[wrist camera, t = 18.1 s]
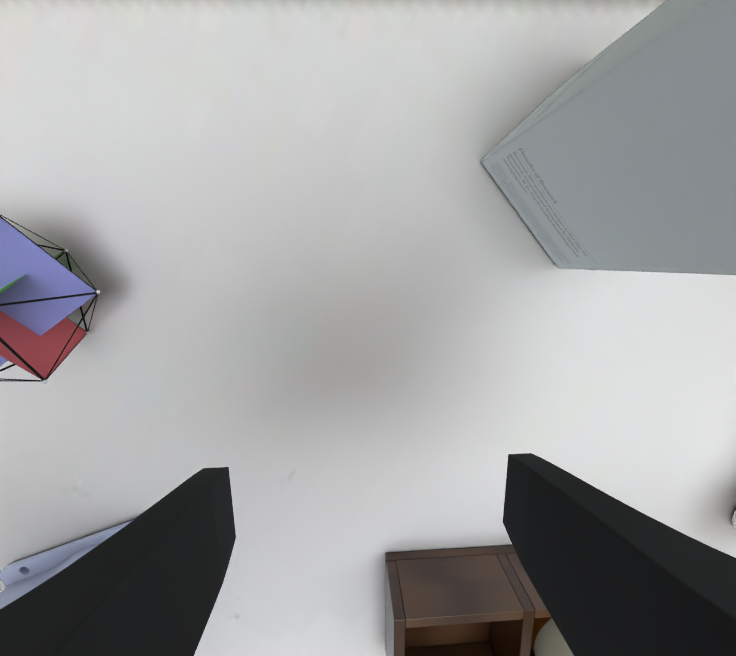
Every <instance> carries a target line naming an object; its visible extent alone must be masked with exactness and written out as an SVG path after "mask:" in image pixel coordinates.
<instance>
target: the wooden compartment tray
mask: <svg viewBox="0 0 736 656" xmlns="http://www.w3.org/2000/svg"><path fill="white" fill-rule="evenodd" d="M544 617H551V615H550V614H549V612H548V610H547V609H546V607H545V605H544V603H543V602H542V600H541V598H540V596H539V595H538V593H537V591H536V589H535V588H534V586H533V584H532V582H531V581H530V579H529V577H528V575H527V573H526V572H525V570H524V568H523V566H522V564H521V563H520V560H519V558H518V556H517V554H516V551H515V549H514V547H513V545H508V546H492V547H476V548H459V549H443V550H427V551H411V552H395V553H386V554H385V650H386V656H535V654H534V652H533V650H532V648H531V640H532V631H533V622H534V618H544Z"/></svg>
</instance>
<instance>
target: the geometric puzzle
mask: <svg viewBox="0 0 736 656" xmlns="http://www.w3.org/2000/svg"><path fill="white" fill-rule="evenodd" d="M1 216H2V215H1ZM1 216H0V366H1V365H3V364H4V363H5V362H7V361H8V360H9V361H10V362H12V363H14V364H12V365H10V366H8V367H5V368H3V369H1V370H0V371H3V370H5V369H7V368H10V367H12V366H14V365H17V366H19V367H21V368H23V369H24V370H26V371H28V372H30V373H31V374H33V375H35V376H37V377H38V378H40V379H41V380H24V381H42V383H47V379H48V378H49V376H50V375H51V374H52V373H53V372H54V371H55V370H56V368H57V367H58V366H59V365H60V364H61V363H62V362H63V360H64V359H65V358H66V357H67V356H68V355H69V354H70V352H71V351H72V350H73V349H74V348H75V347H76V346H77V344H78V343H79V342H80V341H81V340H82V339H83V338H84V336H85V335H86V334H89V332H88V330H89V327H88V330H87V326H86V323H85V319H84V317H85V315H86V313H87V312H88V310H89V308H90V307H91V305H92V303H93V302H94V300H95V298H96V297H98V294H99V293H100V291H99V290H96V288H95V287H94V286H93V285H92V286H93V287H94V288H95V289H94V288H92V287H91V286H90V285H89V284H87V283H86V282H85V281H83V280H82V279H81V278H80V277H78V276H77V275H76V274H74V273H73V272H72V269H71V266H70V262H69V258H68V254H69V253H68V250H67V249H64V250H63V248H62V249H58V248H53V247H48V246H43V245H38V244H36V243H34V242H33V241H32V240H31V239H29V238H28V237H27V236H25V235H24V234H23V233H22V232H20V231H19V230H18V229H16V228H15V227H14V226H13V225H11V224H10V223H9V222H7V221H6V220H5V219H4V218H5V217H4V216H2V217H4V218H2V217H1ZM6 219H7V218H6ZM8 220H9V219H8ZM10 221H11V220H10ZM12 222H13V221H12ZM14 223H15V222H14ZM15 224H17V223H15ZM17 225H18V224H17ZM19 226H20V225H19ZM21 227H22V226H21ZM23 228H24V227H23ZM25 229H26V228H25ZM27 230H28V229H27ZM28 231H29V230H28ZM30 232H31V231H30ZM32 233H33V232H32ZM34 234H35V233H34ZM36 235H37V234H36ZM38 236H39V235H38ZM40 237H41V236H40ZM41 238H42V237H41ZM43 239H44V238H43ZM45 240H46V239H45ZM47 241H48V240H47ZM49 242H50V241H49ZM51 243H52V242H51ZM53 244H54V243H53ZM54 245H55V244H54ZM40 246H42V247H47V248H52V249H58V250H63V252H61V253H60V254H59V255H57V256H56V257H52V256H51V255H50V254H49V253H47V252H46V251H45V250H43V249H42V248H41V247H40ZM56 246H57V245H56ZM58 247H59V246H58ZM60 248H61V247H60ZM64 253H66V257H67V261H68V264H69V268H70V270H69V269H68V268H67V267H65V266H64V265H63V264H62V263H60V262H59V261H58V260H57V259H58V258H59V257H60V256H62V255H63V254H64ZM67 253H68V254H67ZM69 256H70V255H69ZM70 257H71V256H70ZM71 258H72V257H71ZM72 260H73V259H72ZM73 261H74V260H73ZM74 262H75V261H74ZM75 263H76V262H75ZM76 265H77V264H76ZM77 266H78V265H77ZM78 267H79V266H78ZM79 269H80V268H79ZM80 270H81V269H80ZM81 271H82V270H81ZM82 273H83V272H82ZM83 274H84V273H83ZM84 275H85V274H84ZM85 276H86V275H85ZM86 278H87V277H86ZM87 279H88V278H87ZM88 280H89V279H88ZM89 282H90V281H89ZM90 283H91V282H90ZM91 284H92V283H91ZM93 296H95V297H94V299H93V300H92V302H91V304H90V305H89V307H88V309H87V310H86V312H85V314H84V315H83V311H82V307H81V305H83V304H84V303H85V302H87V301H88V300H89V299H91V298H92V297H93ZM96 301H97V298H96ZM96 301H95V304H96ZM79 307H80V310H81V314H82V319H81V320H80V322H79V324H78V325H76V324H75V323H73V322H72V321H70V320H69V319H68V318H66V317H67V316H68V315H69V314H71V313H72V312H73V311H75V310H76V309H77V308H79ZM94 308H95V305H94ZM93 312H94V309H93ZM92 315H93V313H92ZM91 319H92V316H91ZM82 320H83V321H84V325H85V329H86V330H83V329H82V328H80V327H79V325H80V323H81V322H82ZM90 323H91V320H90ZM89 326H90V324H89ZM0 381H22V380H20V379H2V380H0Z"/></svg>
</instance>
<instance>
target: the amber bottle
mask: <svg viewBox="0 0 736 656" xmlns="http://www.w3.org/2000/svg"><path fill="white" fill-rule="evenodd" d="M531 648H532V650H533V652H534V654H535V656H574V655H573V653H572V652H571V650H570V648H569V647H568V645H567V643H566V641H565V640H564V638H563V636H562V634H561V633H560V631H559V629H558V628H557V626H556V624H555V622H554V621H553V619H552V617H544V618H534V622H533V631H532V640H531Z"/></svg>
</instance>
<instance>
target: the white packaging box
mask: <svg viewBox="0 0 736 656" xmlns="http://www.w3.org/2000/svg"><path fill="white" fill-rule="evenodd" d="M482 164H483V165H484V166H485V168H486V169H487V171H488V172H489V174H490V175H491V176H492V178H493V179H494V181H495V182H496V183H497V185H498V186H499V188H500V189H501V190H502V192H503V193H504V194H505V196H506V197H507V198H508V200H509V201H510V203H511V204H512V206H513V207H514V208H515V210H516V211H517V212H518V214H519V215H520V217H521V218H522V219H523V221H524V222H525V224H526V225H527V226H528V228H529V229H530V230H531V232H532V233H533V234H534V236H535V237H536V239H537V240H538V241H539V243H540V244H541V245H542V247H543V248H544V249H545V251H546V252H547V254H548V255H549V256H550V258H551V259H552V260H553V261H554V263H555V264H556V265H557V266H558V267H559V268H561V269H585V270H614V271H641V272H668V273H695V274H720V275H736V0H666V1H665V2H664V3H663V4H661V5H660V6H659V7H658V8H656V9H655V10H654V11H653V12H651V13H650V14H649V15H648V16H646V17H645V18H644V19H643V20H641V21H640V22H639V23H638V24H636V25H635V26H634V27H633V28H631V29H630V30H629V31H627V32H626V33H625V34H624V35H622V36H621V37H620V38H618V39H617V40H616V41H615V42H613V43H612V44H611V45H610V46H608V47H607V48H606V49H604V50H603V51H602V52H601V53H599V54H598V55H597V56H596V57H595V58H593V59H592V60H591V61H590V62H588V63H587V64H586V65H585V66H584V67H583V68H581V69H580V70H579V71H578V72H577V73H576V74H574V75H573V76H572V77H571V78H570V79H569V80H567V81H566V82H565V83H564V84H563V85H562V86H561V87H559V88H558V89H557V90H556V91H555V92H554V93H553V94H551V95H550V96H549V97H548V98H547V99H546V100H545V101H544V102H543V103H542V104H540V105H539V106H538V107H537V108H536V109H535V110H534V111H533V112H532V113H531V114H530V115H529V116H528V117H527V118H525V119H524V120H523V121H522V122H521V123H520V124H519V125H518V126H517V127H516V128H515V129H514V130H513V131H512V132H510V133H509V134H508V135H507V136H506V137H505V138H504V139H503V140H502V141H501V142H500V143H499V144H498V145H497V146H496V147H494V148H493V149H492V150H491V151H490V152H489V153H488V154H487V155H486V156H485V157H484V158H483V159H482Z"/></svg>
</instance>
